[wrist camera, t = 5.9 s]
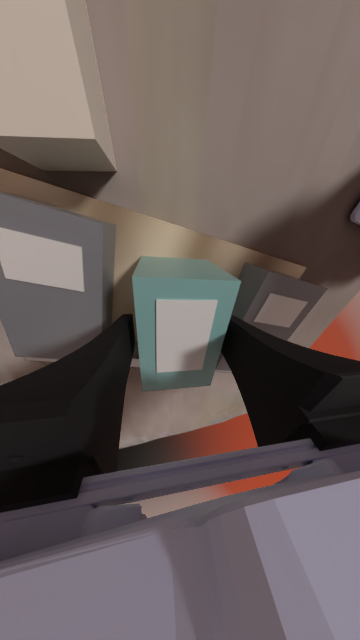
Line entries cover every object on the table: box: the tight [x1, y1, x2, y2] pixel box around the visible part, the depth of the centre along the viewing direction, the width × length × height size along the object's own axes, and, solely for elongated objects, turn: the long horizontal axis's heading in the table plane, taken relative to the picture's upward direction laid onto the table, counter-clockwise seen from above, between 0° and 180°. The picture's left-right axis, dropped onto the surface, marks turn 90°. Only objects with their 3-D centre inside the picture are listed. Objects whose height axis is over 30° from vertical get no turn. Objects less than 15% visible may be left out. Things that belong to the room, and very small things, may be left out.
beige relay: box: [0, 0, 117, 172], centre depth 5 cm, size 4×6×4 cm, turn 2°
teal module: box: [132, 256, 241, 392], centre depth 11 cm, size 5×8×6 cm, turn 175°
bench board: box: [0, 168, 307, 341], centre depth 14 cm, size 22×12×1 cm, turn 75°
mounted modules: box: [0, 191, 328, 371], centre depth 12 cm, size 21×10×3 cm, turn 75°
